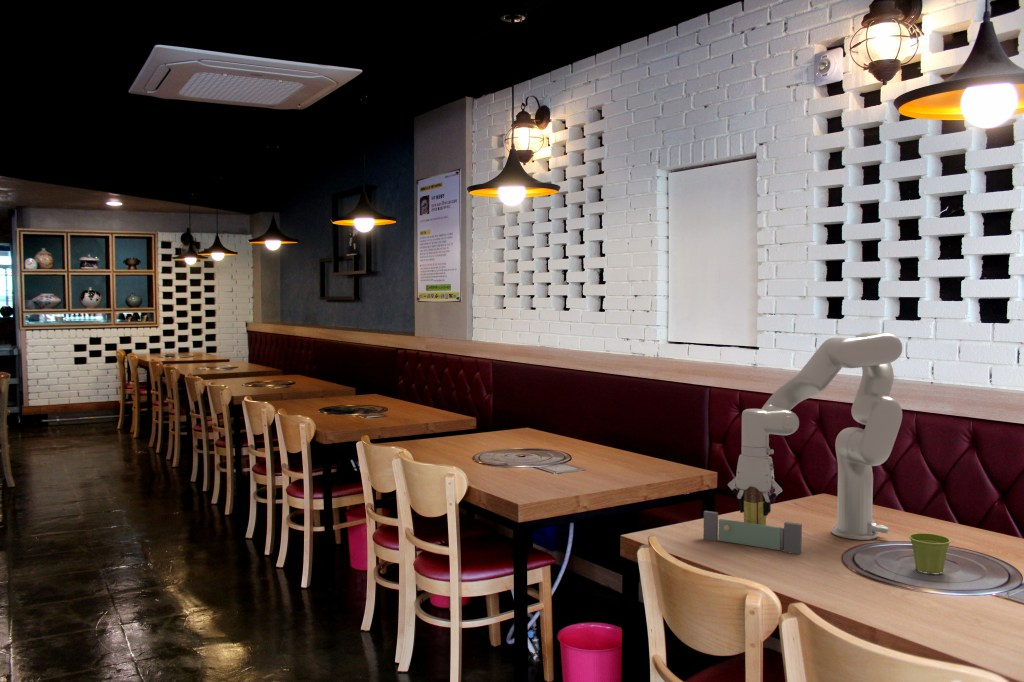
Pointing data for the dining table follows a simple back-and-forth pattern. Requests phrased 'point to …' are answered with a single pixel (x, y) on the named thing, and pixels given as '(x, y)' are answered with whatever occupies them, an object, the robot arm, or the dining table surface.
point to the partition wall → (790, 532)
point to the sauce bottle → (754, 506)
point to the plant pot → (929, 551)
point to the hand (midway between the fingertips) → (754, 512)
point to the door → (751, 534)
